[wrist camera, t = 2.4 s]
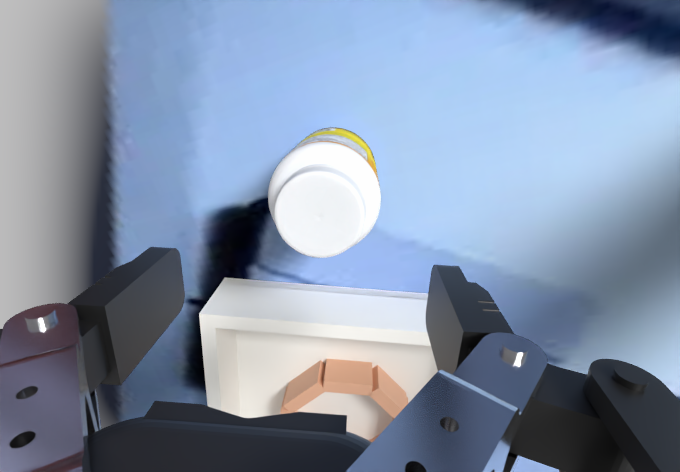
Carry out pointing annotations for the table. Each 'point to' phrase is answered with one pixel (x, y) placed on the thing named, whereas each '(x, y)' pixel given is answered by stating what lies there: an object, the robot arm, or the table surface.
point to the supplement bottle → (325, 193)
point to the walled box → (315, 351)
